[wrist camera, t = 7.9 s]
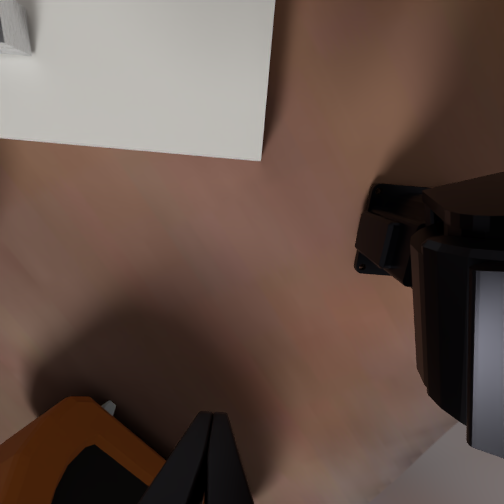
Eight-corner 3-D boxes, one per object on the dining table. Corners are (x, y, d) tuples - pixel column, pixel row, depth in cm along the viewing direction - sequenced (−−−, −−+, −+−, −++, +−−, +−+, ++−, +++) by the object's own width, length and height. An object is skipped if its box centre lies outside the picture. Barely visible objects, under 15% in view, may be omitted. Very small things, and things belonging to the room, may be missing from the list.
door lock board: (275, -26, 15) (292, -151, 9) (259, 161, 18) (263, 159, 12) (-168, -74, 15) (-466, -244, 9) (-109, 128, 18) (-298, 109, 12)
